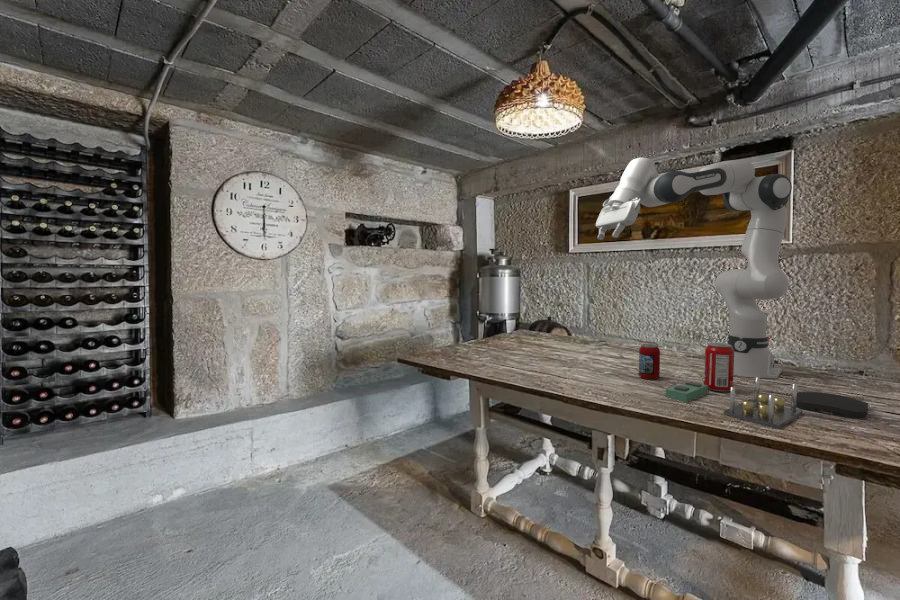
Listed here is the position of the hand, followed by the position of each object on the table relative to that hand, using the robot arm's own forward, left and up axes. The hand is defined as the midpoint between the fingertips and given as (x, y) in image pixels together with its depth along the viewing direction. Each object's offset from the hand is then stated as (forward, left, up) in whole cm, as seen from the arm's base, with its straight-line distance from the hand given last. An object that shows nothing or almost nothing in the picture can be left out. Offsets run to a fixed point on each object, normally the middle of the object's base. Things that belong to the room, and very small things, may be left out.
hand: (606, 238), depth 138 cm
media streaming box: (-26, +53, -51) cm, 79 cm away
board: (-6, +25, -51) cm, 57 cm away
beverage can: (-16, +7, -51) cm, 54 cm away
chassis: (-5, +45, -51) cm, 68 cm away
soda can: (-20, +28, -51) cm, 61 cm away
